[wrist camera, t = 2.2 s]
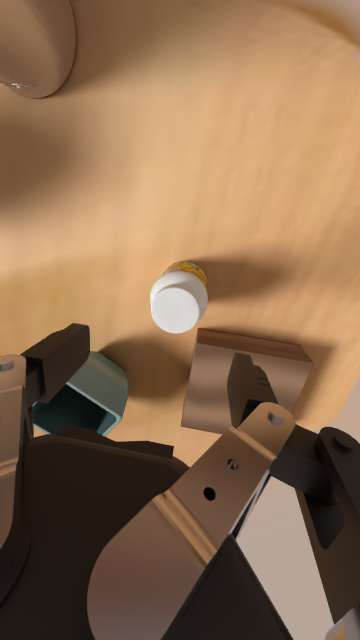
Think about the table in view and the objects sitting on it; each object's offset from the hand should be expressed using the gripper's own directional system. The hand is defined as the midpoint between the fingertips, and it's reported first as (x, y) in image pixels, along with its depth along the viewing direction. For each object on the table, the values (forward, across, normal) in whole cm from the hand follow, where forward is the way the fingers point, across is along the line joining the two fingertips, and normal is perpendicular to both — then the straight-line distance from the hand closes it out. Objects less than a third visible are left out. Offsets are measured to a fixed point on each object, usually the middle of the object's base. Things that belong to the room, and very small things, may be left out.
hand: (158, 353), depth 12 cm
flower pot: (+16, +10, +15) cm, 24 cm away
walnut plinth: (+16, -9, +12) cm, 22 cm away
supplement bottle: (+16, 0, 0) cm, 16 cm away
